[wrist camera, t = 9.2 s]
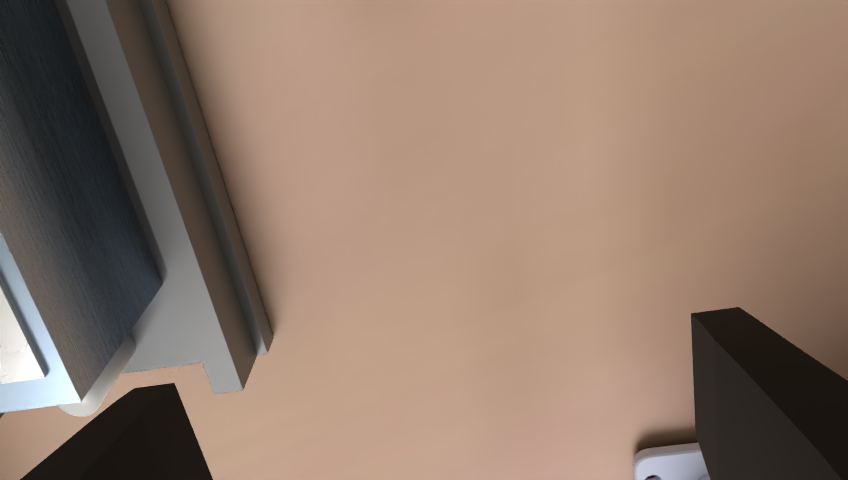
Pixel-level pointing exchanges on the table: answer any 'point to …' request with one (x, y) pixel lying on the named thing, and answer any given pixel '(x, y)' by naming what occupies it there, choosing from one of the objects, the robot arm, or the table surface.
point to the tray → (168, 200)
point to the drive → (59, 221)
